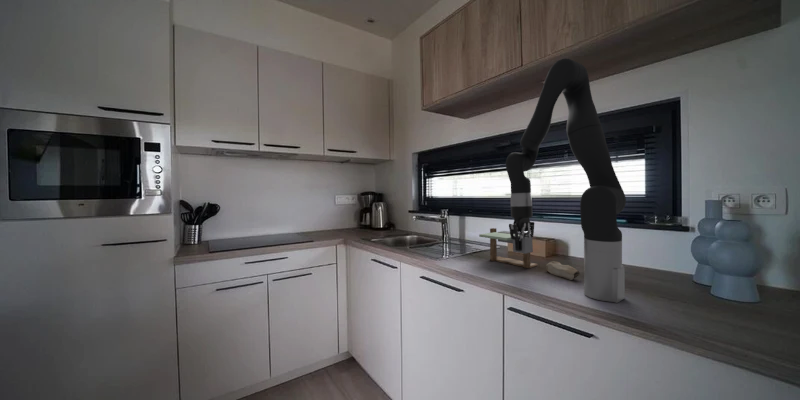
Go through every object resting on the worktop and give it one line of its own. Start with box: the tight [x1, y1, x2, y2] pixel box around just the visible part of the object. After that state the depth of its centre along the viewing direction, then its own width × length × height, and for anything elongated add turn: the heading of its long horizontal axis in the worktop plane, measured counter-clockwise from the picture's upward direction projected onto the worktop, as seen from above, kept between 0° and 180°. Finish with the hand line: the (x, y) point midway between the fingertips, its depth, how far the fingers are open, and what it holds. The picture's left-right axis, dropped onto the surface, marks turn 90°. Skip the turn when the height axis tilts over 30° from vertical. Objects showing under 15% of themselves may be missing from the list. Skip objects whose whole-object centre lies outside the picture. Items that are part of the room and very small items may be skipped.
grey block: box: [512, 236, 534, 254], centre depth 106 cm, size 5×5×6 cm
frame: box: [489, 227, 538, 269], centre depth 126 cm, size 19×7×15 cm, turn 36°
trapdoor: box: [478, 230, 519, 244], centre depth 123 cm, size 14×18×4 cm
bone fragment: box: [545, 260, 581, 281], centre depth 106 cm, size 14×6×5 cm, turn 4°
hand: (522, 249), depth 106 cm, fingers closed on grey block, 5 cm apart
